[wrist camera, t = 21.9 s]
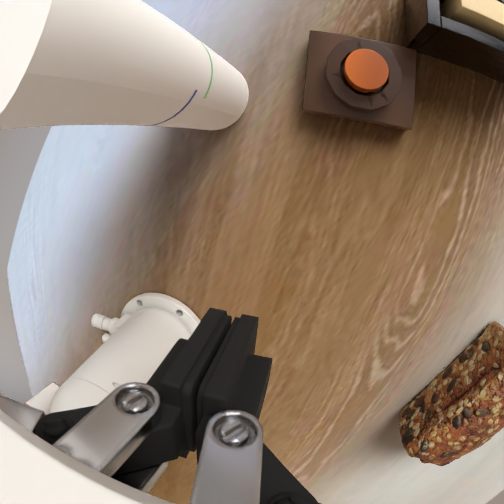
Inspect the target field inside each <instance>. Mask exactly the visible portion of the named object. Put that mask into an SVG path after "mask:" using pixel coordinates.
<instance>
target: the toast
mask: <svg viewBox="0 0 504 504" xmlns="http://www.w3.org/2000/svg"><path fill="white" fill-rule="evenodd" d="M440 16H443V17H446V18H449V19H452V20H454V21H457V22H460V23H462V24H465V25H467V26H470V27H472V28H475V29H477V30H480V31H482V32H484V33H487V34H489V35H491V36H493V37H495V38H498V39H500V40H502V41H504V4H503V3H501V2H499V1H497V0H445V1H444V2H443V3H442V4H441V5H440Z"/></svg>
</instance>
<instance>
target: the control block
mask: <svg viewBox="0 0 504 504" xmlns="http://www.w3.org/2000/svg"><path fill="white" fill-rule="evenodd" d="M358 49H369V50H373V51H375V52H377V53H378V54H380V55H381V56H382V57H383V58H384V60H385V61H386V63H387V65H388V69H389V76H388V79H387V81H386V83H385V84H384V85H383V86H382V87H381V88H380V89H378V90H377V91H375V92H371V93H363V92H359V91H357V90H355V89H353V88H352V87H351V86H350V85H349V84H348V83H347V81H346V79H345V77H344V65H345V61H346V59H347V57H348V56H349V54H350V53H352V52H353V51H355V50H358ZM416 58H417V50H415V49H411V48H407V47H403V46H399V45H395V44H391V43H386V42H382V41H377V40H372V39H367V38H361V37H356V36H349V35H343V34H336V33H329V32H321V31H310V34H309V46H308V58H307V69H306V80H305V91H304V101H303V111H304V113H311V114H318V115H326V116H332V117H339V118H345V119H351V120H356V121H362V122H367V123H372V124H377V125H382V126H387V127H392V128H396V129H400V130H405V131H406V130H411V129H412V122H413V111H414V98H415V83H416Z"/></svg>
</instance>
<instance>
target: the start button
mask: <svg viewBox="0 0 504 504" xmlns="http://www.w3.org/2000/svg"><path fill="white" fill-rule="evenodd" d="M388 76H389V69H388V65H387V63H386V61H385V60H384V58H383V57H382V56H381V55H380V54H378V53H377V52H375V51H373V50H369V49H358V50H355V51H353V52H352V53H350V54H349V56H348V57H347V59H346V61H345V65H344V77H345V79H346V81H347V83H348V84H349V85H350V86H351V87H352V88H353V89H355V90H357V91H359V92H363V93H371V92H375V91H377V90H378V89H380V88H381V87H382V86H383V85H384V84H385V83H386V81H387V79H388Z"/></svg>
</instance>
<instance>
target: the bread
mask: <svg viewBox="0 0 504 504" xmlns="http://www.w3.org/2000/svg"><path fill="white" fill-rule="evenodd" d="M400 419H401V421H400V424H399V426H400V433H401V437H402V443H403V446H404V448H405V449H406V451H407V453H408V454H409V456H411V457H417V458H420V460H421V462H422V463H432V464H436V465H439V466H444V465H446V464H449V463H450V462H452V461H453V460H455V459H458V458H460V457H461V456H463V455H465V454H467V453H469V452H471V451H473V450H475V449H476V448H479V447H480V446H482V445H483V444H484V443H485V442H487V441H488V440H490V439H491V437H492V436H494V435H495V434H496V433H497V432H499V431H500V430H501V429H502V428H503V427H504V328H503V327H502V326H501V325H500V324H499V323H497V322H496V321H495V322H493V323H492V324H490V325H489V326H486V328H485V331H484V333H483V334H482V335H481V336H480V337H479V338H478V339H477V340H476V341H474V343H473V344H471V345H470V346H469V347H467V348H466V350H465V351H464V352H463V353H462V354H460V355H459V357H458V358H457V359H456V360H455V361H454V362H453V363H452V364H450V365H449V366H448V367H447V368H446V369H445V370H444V371H443V372H442V373H441V374H439V375H438V376H437V377H436V378H435V379H434V380H433V381H432V382H431V383H430V384H429V385H428V387H427V388H426V389H425V390H423V391H422V392H421V394H420V395H418V396H416V398H415V400H413V401H412V402H411V403H410V404H408V405H406V406H405V407H404V408H403V410H402V411H401V413H400Z"/></svg>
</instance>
